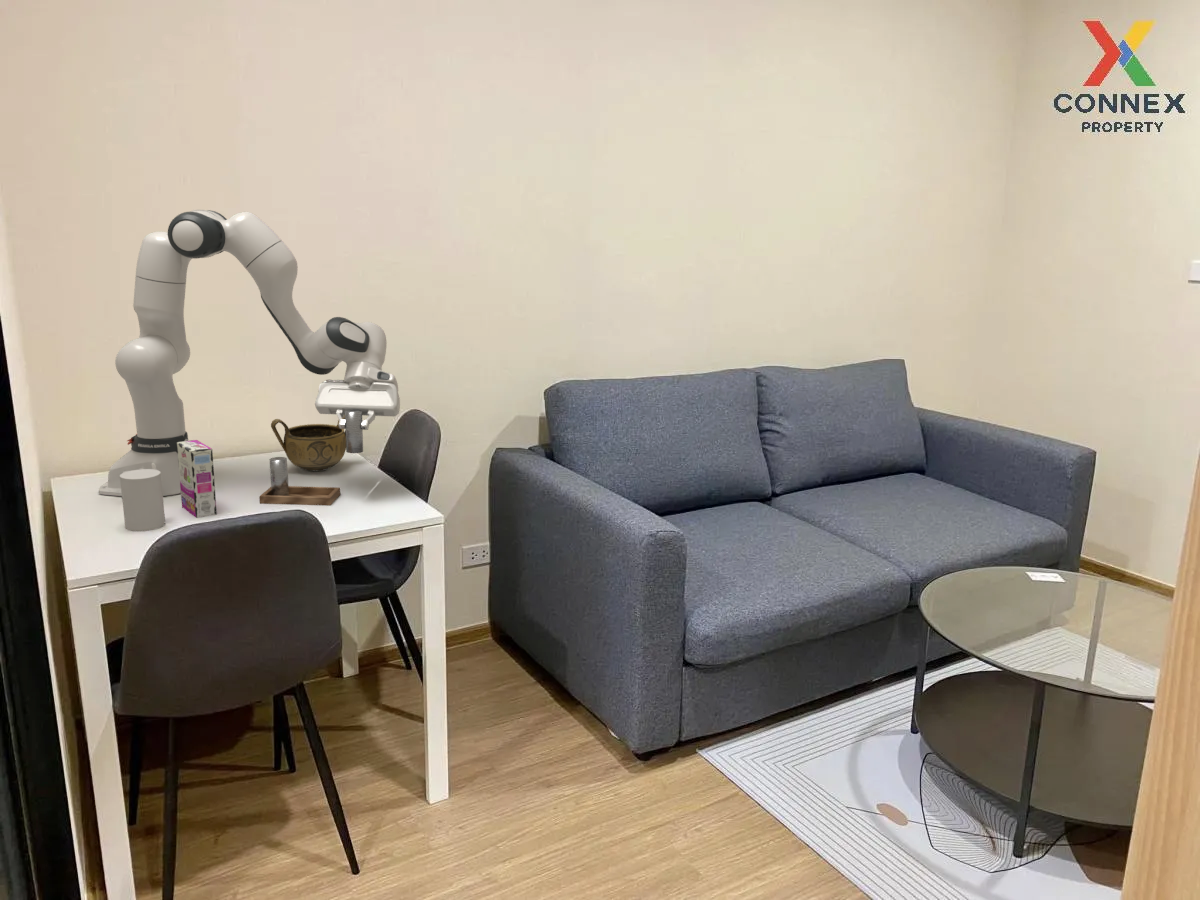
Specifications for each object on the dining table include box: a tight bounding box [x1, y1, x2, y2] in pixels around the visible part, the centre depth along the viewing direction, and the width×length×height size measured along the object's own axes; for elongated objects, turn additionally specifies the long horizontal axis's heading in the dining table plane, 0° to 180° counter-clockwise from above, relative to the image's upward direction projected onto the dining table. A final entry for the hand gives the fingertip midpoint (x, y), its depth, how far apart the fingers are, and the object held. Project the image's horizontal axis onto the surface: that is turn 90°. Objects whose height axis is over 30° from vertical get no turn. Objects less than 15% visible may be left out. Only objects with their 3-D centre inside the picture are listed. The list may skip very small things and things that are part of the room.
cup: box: [120, 469, 166, 532], centre depth 208 cm, size 8×8×12 cm
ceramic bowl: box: [270, 415, 346, 472], centre depth 256 cm, size 22×17×15 cm
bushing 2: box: [345, 409, 364, 454], centre depth 226 cm, size 4×4×10 cm
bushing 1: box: [269, 456, 289, 496], centre depth 228 cm, size 4×4×10 cm
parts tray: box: [258, 485, 341, 507], centre depth 229 cm, size 17×9×2 cm, turn 90°
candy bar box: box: [177, 439, 218, 519], centre depth 217 cm, size 11×5×16 cm, turn 40°
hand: (353, 428), depth 226 cm, fingers closed on bushing 2, 4 cm apart
